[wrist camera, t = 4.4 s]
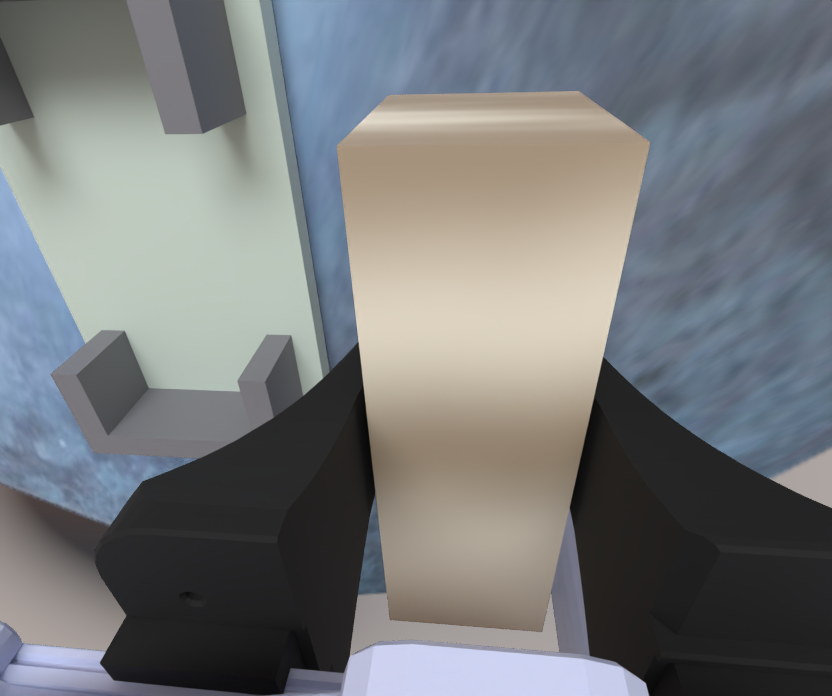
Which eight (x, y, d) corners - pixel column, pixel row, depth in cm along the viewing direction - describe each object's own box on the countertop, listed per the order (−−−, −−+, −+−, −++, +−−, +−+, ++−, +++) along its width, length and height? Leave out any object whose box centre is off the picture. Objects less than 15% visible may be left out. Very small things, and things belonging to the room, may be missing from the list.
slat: (524, 482, 17) (542, 632, 13) (409, 475, 17) (389, 619, 13) (579, 90, 10) (650, 142, 6) (388, 95, 11) (336, 145, 7)
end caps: (336, 414, 23) (314, 481, 20) (134, 405, 24) (80, 468, 21) (255, -102, 13) (182, -140, 10) (-87, -82, 14) (-261, -111, 11)
